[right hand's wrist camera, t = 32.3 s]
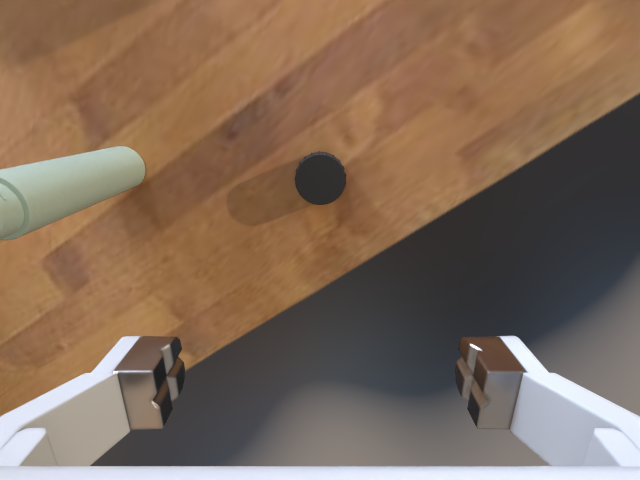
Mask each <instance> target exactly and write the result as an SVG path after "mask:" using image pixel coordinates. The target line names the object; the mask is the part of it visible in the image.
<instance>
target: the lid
mask: <svg viewBox="0 0 640 480" xmlns="http://www.w3.org/2000/svg"><path fill="white" fill-rule="evenodd" d="M295 183H296V187H297V190H298V192H299V194H300V195H301V196H302V197H303V198H304V199H305V200H307V201H308V202H310V203H313V204H317V205H324V204H328V203H331V202H333V201H334V200H336V199H337V198H338V197H339V196H340V195H341V193H342V192H343V190H344V187H345V184H346V174H345V172H344V167H343V166H342V165H341V163H340V160H338V159H337V158H336V157H334V155H331V154H328V153H327V152H326V153H324V152H320V151H319V152H317V153H313V154H312V153H311V154H310V155H308V156H307V157H305V158H304V159H303V160H302V161H301V162H300V163H299V167H298V169H297V170H296V176H295Z"/></svg>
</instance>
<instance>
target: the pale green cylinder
mask: <svg viewBox="0 0 640 480" xmlns="http://www.w3.org/2000/svg"><path fill="white" fill-rule="evenodd" d="M144 177H145V165H144V162H143V160H142V158H141V157H140V156H139V154H138V153H136V152H135V151H134V150H132V149H130V148H128V147H124V146H117V147H112V148H107V149H102V150H97V151H92V152H87V153H82V154H77V155H72V156H67V157H62V158H57V159H52V160H47V161H42V162H37V163H32V164H27V165H22V166H16V167H11V168H6V169H1V170H0V240H12V239H16V238H18V237H21V236H23V235H25V234H27V233H30V232H32V231H34V230H37V229H39V228H41V227H44V226H46V225H48V224H50V223H53V222H55V221H57V220H60V219H62V218H64V217H67V216H69V215H71V214H73V213H76V212H78V211H80V210H83V209H85V208H87V207H90V206H92V205H94V204H96V203H99V202H101V201H103V200H106V199H108V198H110V197H113V196H115V195H117V194H119V193H122V192H124V191H126V190H129V189H131V188H133V187H136V186H137V185H139V184H140V183H141V182H142V181H143V179H144Z"/></svg>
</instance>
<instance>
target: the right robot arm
mask: <svg viewBox="0 0 640 480" xmlns="http://www.w3.org/2000/svg"><path fill="white" fill-rule="evenodd" d="M181 350H182V348H181V343H180V339H179V338H178V337H161V336H143V337H142V336H125V337H122V338H121V339H120V340H119V341H118V342H117V344H116V345H115V346H114V347H113V348H112V349H111V350H110V352H109V353H108V354H107V355H106V356H105V357H104V359H103V360H102V361H101V362H100V363H99V364H98V365H97V367H96V368H95V369H94V370H93V371H92V372H91V373H84V374H82V375H80V376H78V377H77V378H75V379H73V380H71V381H69V382H67V383H65V384H63V385H61V386H59V387H57V388H55V389H53V390H51V391H49V392H47V393H45V394H43V395H41V396H39V397H37V398H35V399H34V400H32V401H30V402H28V403H26V404H24V405H22V406H20V407H18V408H16V409H14V410H12V411H10V412H8V413H6V414H4V415H2V416H0V480H640V417H639V416H638V415H636V414H634V413H632V412H630V411H628V410H626V409H624V408H622V407H620V406H618V405H616V404H614V403H612V402H610V401H608V400H606V399H604V398H602V397H600V396H599V395H597V394H595V393H593V392H591V391H589V390H587V389H585V388H583V387H581V386H579V385H577V384H575V383H573V382H571V381H569V380H567V379H565V378H563V377H561V376H560V375H558V374H556V373H549V372H548V371H547V370H546V369H545V368H544V367H543V366H542V364H541V363H540V362H539V361H538V360H537V359H536V357H535V356H534V355H533V354H532V353H531V352H530V351H529V349H528V348H527V347H526V346H525V345H524V344H523V342H522V341H521V340H520V339H519V338H518V337H516V336H497V337H462V338H461V340H460V342H459V348H458V350H459V352H460V353H461V355H462V357H461V358H460V359H459V360H458V361H457V362H456V369H455V376H456V384H457V387H458V390H459V392H460V394H461V396H462V397H463V398H464V399H466V400H467V401H469V403H468V411H469V413H470V415H471V417H472V419H473V421H474V423H475V425H476V427H477V428H478V429H509V430H510V432H511V433H513V434H514V435H515V436H516V437H517V438H518V439H520V440H521V441H522V442H523V443H524V444H525V445H527V446H528V447H529V448H530V449H531V450H532V451H534V452H535V453H536V454H537V455H538V456H540V457H541V458H542V459H543V460H544V461H545V462H547V463H548V464H549V465H550V466H90V465H91V464H92V463H94V462H95V461H96V460H97V459H98V458H99V457H101V456H102V455H103V454H104V453H105V452H106V451H108V450H109V449H110V448H111V447H112V446H114V445H115V444H116V443H117V442H118V441H119V440H121V439H122V438H123V437H124V436H125V435H126V434H128V433H129V432H130V430H131V429H163V427H164V425H165V423H166V421H167V419H168V417H169V415H170V413H171V411H172V403H171V401H173V400H174V399H176V398H177V397H178V396H179V394H180V392H181V390H182V388H183V383H184V378H185V368H184V362H183V361H182V360H181V359H180V358H179V357H178V355H179V353H180V352H181Z"/></svg>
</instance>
